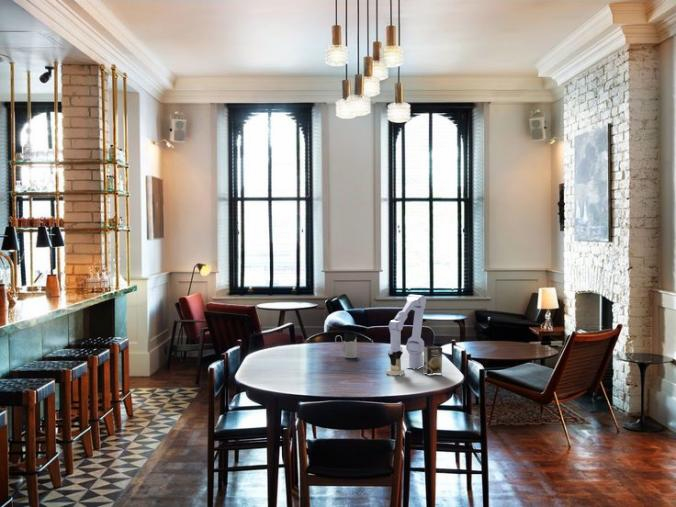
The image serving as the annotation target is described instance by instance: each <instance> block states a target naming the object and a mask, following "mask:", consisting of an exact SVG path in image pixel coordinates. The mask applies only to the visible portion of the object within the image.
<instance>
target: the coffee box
mask: <svg viewBox="0 0 676 507" xmlns="http://www.w3.org/2000/svg"><path fill="white" fill-rule="evenodd" d="M422 369H423V371H422V372H424V373H427V374H433V373H442V374H443V347H441V346H438V345H431V346H429V345H427V346H424V351H423V368H422Z"/></svg>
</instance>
